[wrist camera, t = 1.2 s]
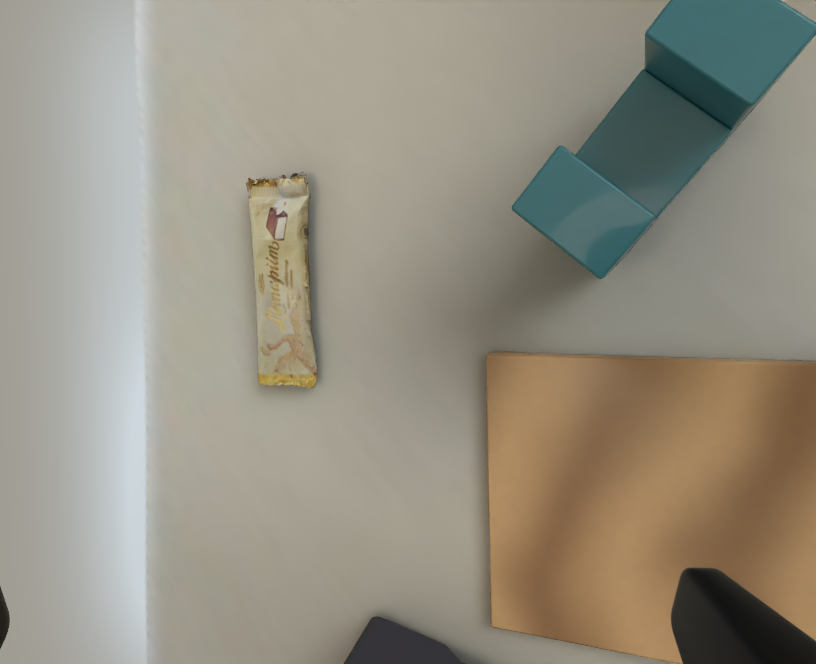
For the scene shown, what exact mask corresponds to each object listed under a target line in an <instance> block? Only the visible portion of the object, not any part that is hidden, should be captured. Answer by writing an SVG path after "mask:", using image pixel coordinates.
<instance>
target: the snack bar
mask: <svg viewBox="0 0 816 664" xmlns="http://www.w3.org/2000/svg"><path fill="white" fill-rule="evenodd" d="M282 176H283V177H282ZM299 176H306V174H305V173H303V172H301V173H298V174H297V173H293V174H292V176H291V178H290V179H288V178H286V176H285V175H280V178H281V179H279V180H278V179H274V180H275V181H274V180H273V179H268V180H266V179H262V180H261V178H260V179H258V181H257V184H253V183H254V182H255V181H254V180H252V179H250V178H248V179H247V182H246V186H247V190H248V192H249V189H250V196H249V199H250V201H249V210H250V218H251V224H252V246H253V258H254V281H255V292H256V308H257V334H258V381H259V382H260V384H265V385H273V386H276V385H277V386H278V385H287V386H288V385H293V386H300V387H301V386H302V387H306V388H314V386H315V385H316V377H317V367H316V355H315V346H314V340H313V334H312V316H311V297H310V273H309V260H308V200H309V199H310V193H309V188H308V185H307V184H308V182H307V178H304V179H305V183H306V185H305V183H304V179H303V177H301V178H300V177H299ZM295 177H297V178H295ZM283 178H284V179H283ZM285 178H286V179H285ZM256 180H257V179H256ZM264 181H265V183H264ZM252 184H253V185H252ZM250 186H251V187H250ZM306 188H307V193H306Z"/></svg>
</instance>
